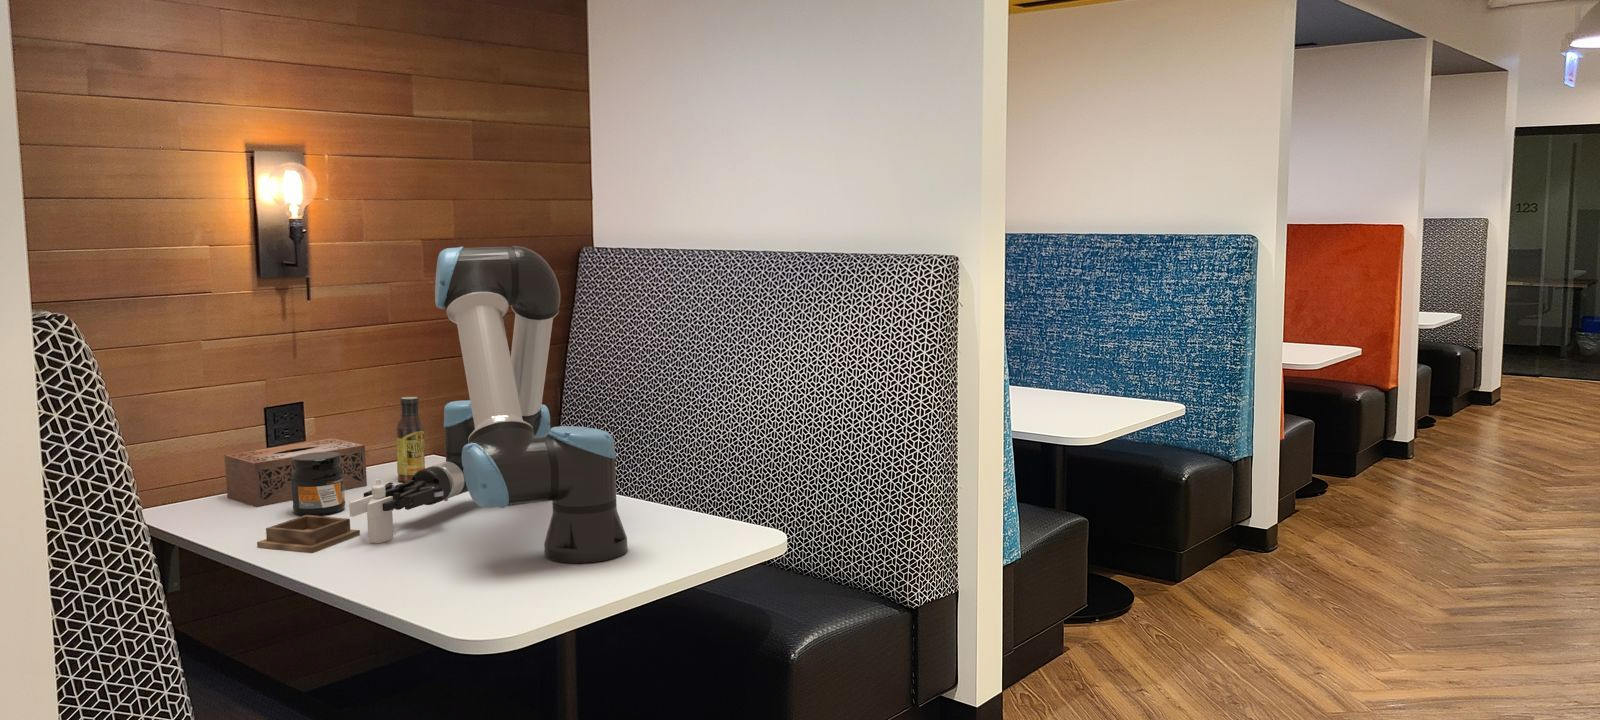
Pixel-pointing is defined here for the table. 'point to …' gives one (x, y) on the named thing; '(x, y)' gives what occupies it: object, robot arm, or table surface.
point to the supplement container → (317, 484)
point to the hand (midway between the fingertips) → (360, 510)
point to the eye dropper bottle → (379, 518)
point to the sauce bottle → (409, 440)
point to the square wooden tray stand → (308, 534)
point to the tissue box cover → (286, 470)
